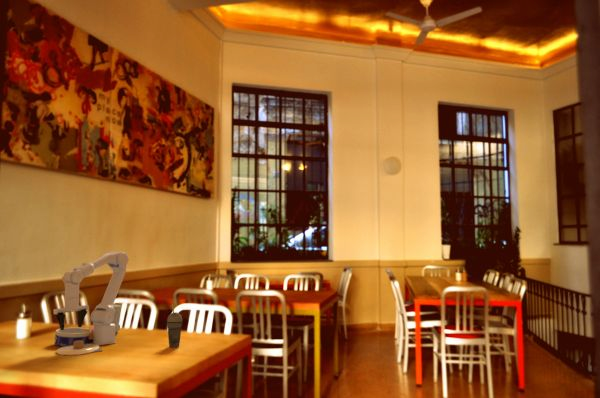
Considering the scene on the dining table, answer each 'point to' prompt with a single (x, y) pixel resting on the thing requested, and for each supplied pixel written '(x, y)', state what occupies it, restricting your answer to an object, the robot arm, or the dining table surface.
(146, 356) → the dining table surface
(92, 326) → the brown wooden board
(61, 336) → the dog bowl
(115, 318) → the grey cylinder
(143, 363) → the dining table surface
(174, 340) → the beverage cup
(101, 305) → the robot arm
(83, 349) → the lid
